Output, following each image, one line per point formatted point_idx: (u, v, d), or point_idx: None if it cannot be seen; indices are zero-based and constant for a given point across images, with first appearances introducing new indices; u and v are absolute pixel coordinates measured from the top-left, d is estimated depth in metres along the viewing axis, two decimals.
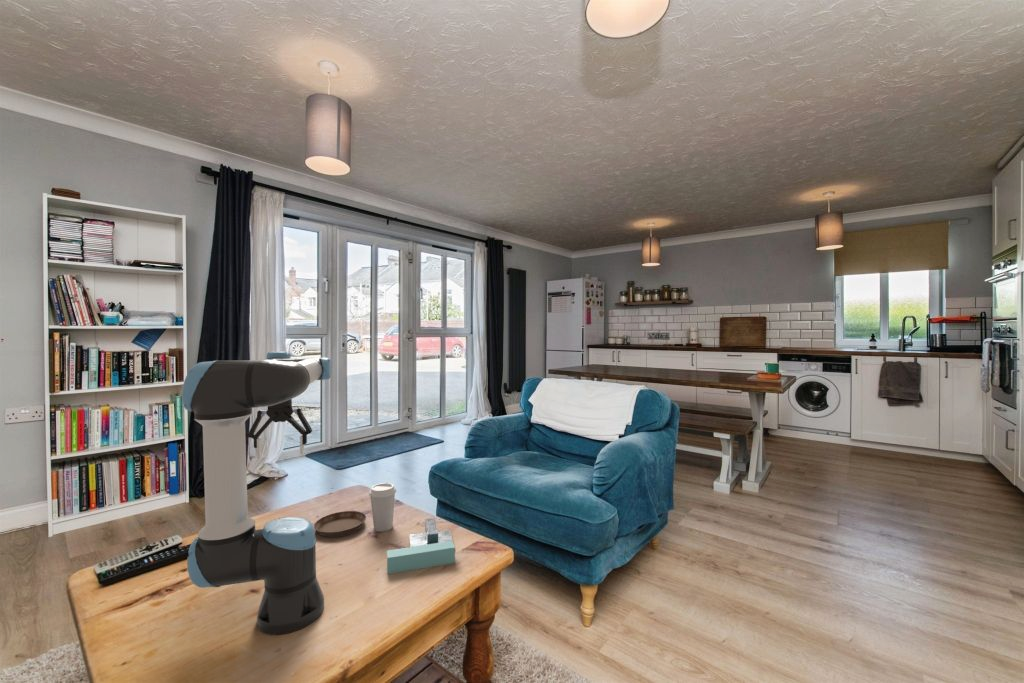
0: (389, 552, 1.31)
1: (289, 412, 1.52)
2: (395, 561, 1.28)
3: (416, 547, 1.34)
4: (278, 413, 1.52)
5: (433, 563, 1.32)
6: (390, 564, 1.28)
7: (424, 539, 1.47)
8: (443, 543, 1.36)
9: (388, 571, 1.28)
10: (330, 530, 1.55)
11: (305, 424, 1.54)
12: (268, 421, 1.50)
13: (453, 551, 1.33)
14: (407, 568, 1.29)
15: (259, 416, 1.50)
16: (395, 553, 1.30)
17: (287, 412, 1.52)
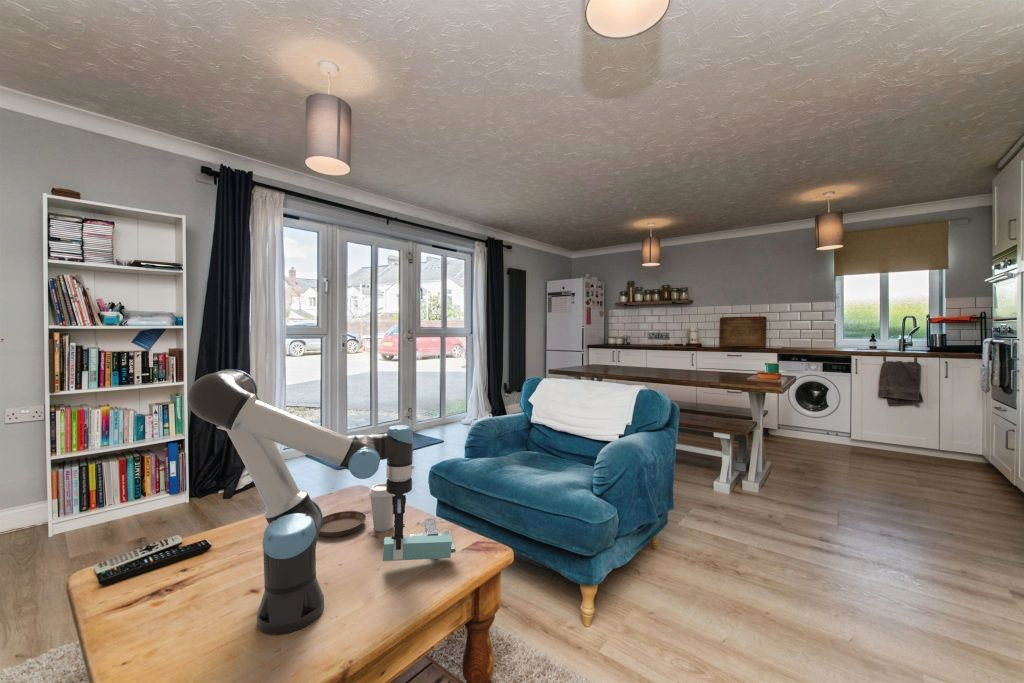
0: (387, 539, 1.31)
1: (395, 502, 1.27)
2: (392, 549, 1.28)
3: (414, 537, 1.34)
4: (395, 498, 1.31)
5: (429, 555, 1.31)
6: (386, 550, 1.28)
7: None
8: (440, 536, 1.35)
9: (383, 558, 1.28)
10: (330, 530, 1.55)
11: (394, 527, 1.25)
12: None
13: (450, 545, 1.33)
14: None
15: None
16: (392, 541, 1.30)
17: (395, 500, 1.28)
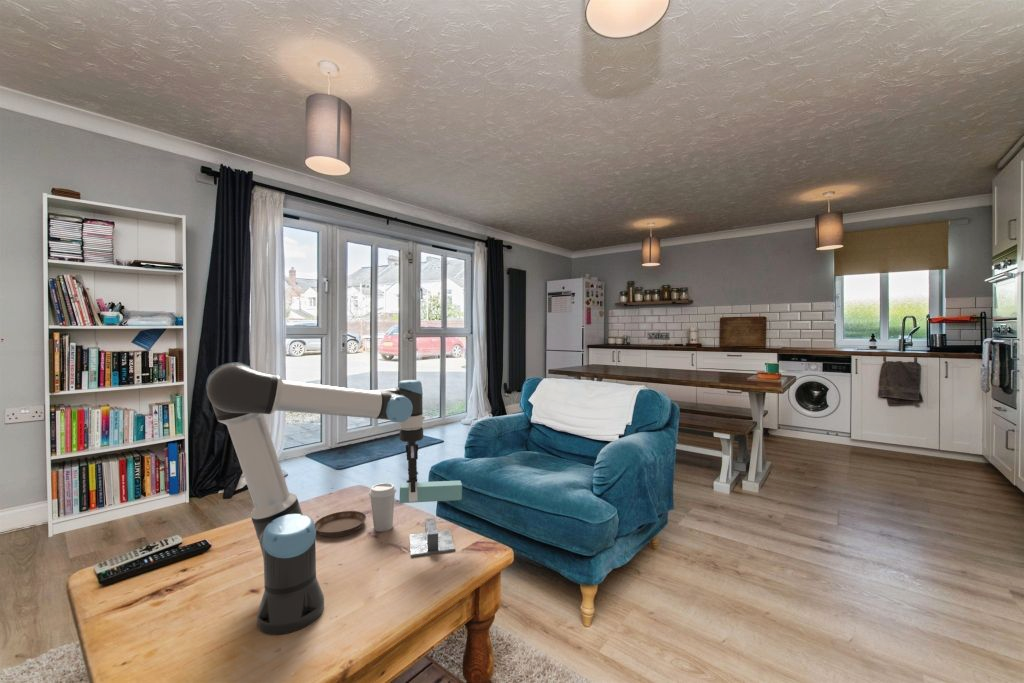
0: (402, 484, 1.42)
1: (408, 448, 1.38)
2: (407, 492, 1.40)
3: (427, 482, 1.45)
4: (408, 446, 1.42)
5: (441, 497, 1.42)
6: (402, 493, 1.39)
7: (424, 539, 1.47)
8: (452, 481, 1.47)
9: (400, 500, 1.39)
10: (330, 530, 1.55)
11: (408, 471, 1.36)
12: None
13: (460, 488, 1.44)
14: None
15: None
16: (408, 485, 1.41)
17: (408, 447, 1.39)
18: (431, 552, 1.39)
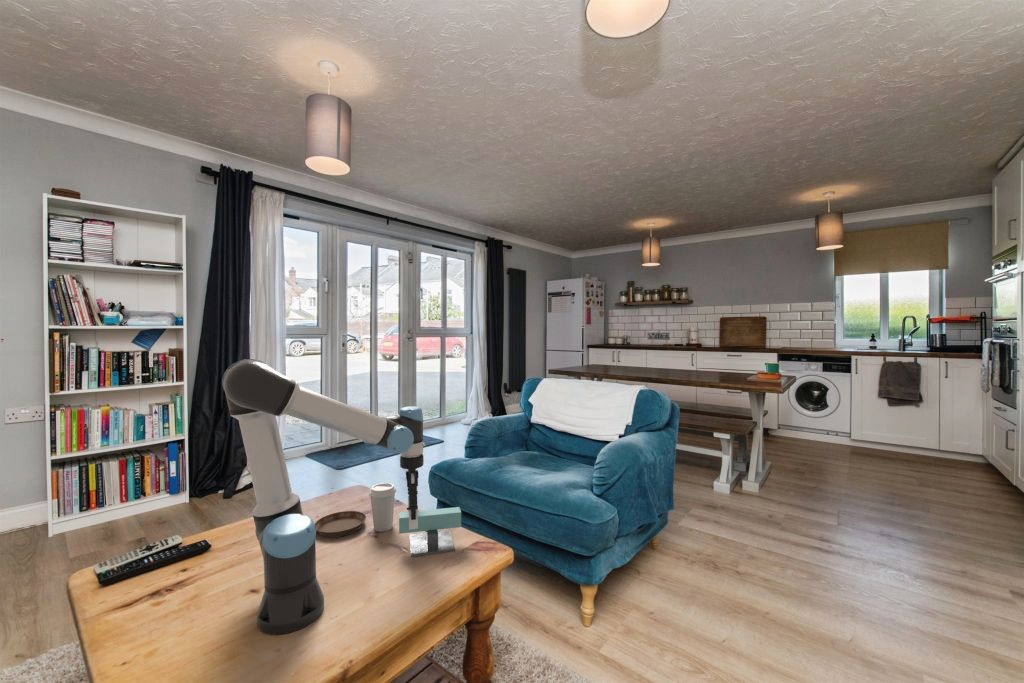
0: (401, 514, 1.42)
1: (408, 476, 1.39)
2: (407, 522, 1.40)
3: (426, 510, 1.45)
4: (408, 473, 1.42)
5: (441, 525, 1.43)
6: (402, 524, 1.40)
7: (424, 539, 1.47)
8: (450, 508, 1.47)
9: (400, 530, 1.39)
10: (330, 530, 1.55)
11: (409, 497, 1.35)
12: None
13: (459, 515, 1.44)
14: (417, 529, 1.41)
15: None
16: (407, 515, 1.42)
17: (408, 475, 1.39)
18: (431, 552, 1.39)
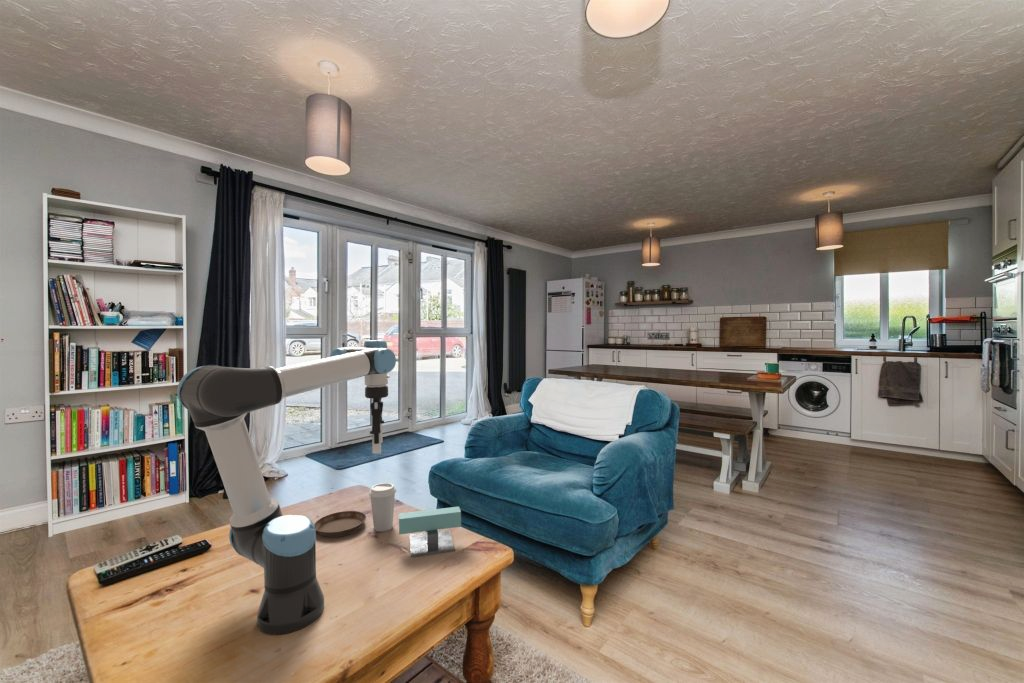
0: (401, 515, 1.42)
1: None
2: (406, 522, 1.40)
3: (426, 511, 1.45)
4: None
5: (441, 525, 1.43)
6: (401, 524, 1.40)
7: (424, 539, 1.47)
8: (450, 508, 1.47)
9: (400, 531, 1.39)
10: (330, 530, 1.55)
11: (372, 421, 1.39)
12: None
13: (459, 515, 1.44)
14: (417, 529, 1.41)
15: None
16: (406, 515, 1.42)
17: None
18: (431, 552, 1.39)
